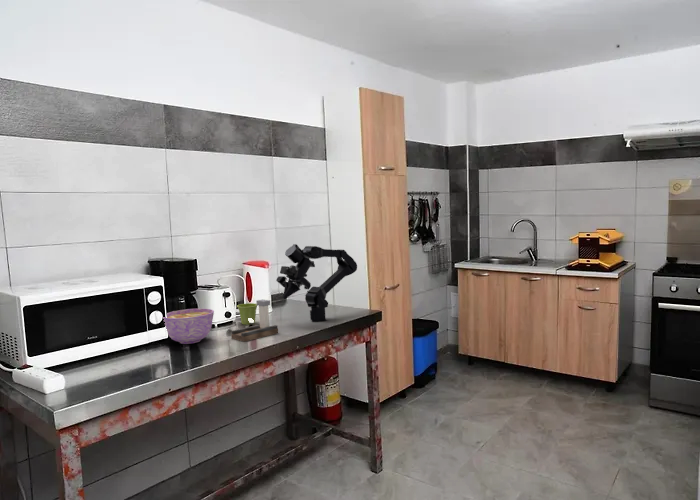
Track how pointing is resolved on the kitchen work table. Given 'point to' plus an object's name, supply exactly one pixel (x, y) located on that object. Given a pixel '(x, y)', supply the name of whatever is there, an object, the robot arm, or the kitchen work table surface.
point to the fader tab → (263, 312)
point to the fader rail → (253, 332)
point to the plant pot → (247, 312)
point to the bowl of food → (189, 325)
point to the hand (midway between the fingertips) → (283, 298)
